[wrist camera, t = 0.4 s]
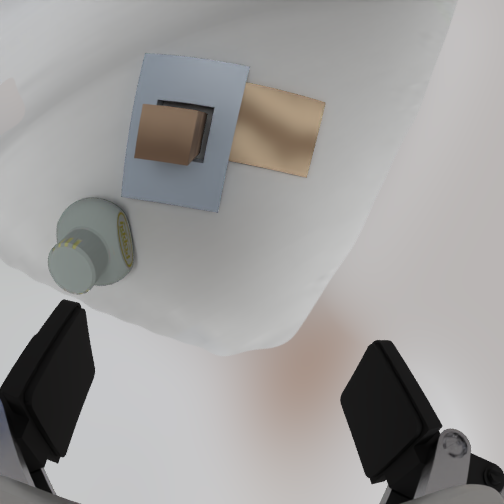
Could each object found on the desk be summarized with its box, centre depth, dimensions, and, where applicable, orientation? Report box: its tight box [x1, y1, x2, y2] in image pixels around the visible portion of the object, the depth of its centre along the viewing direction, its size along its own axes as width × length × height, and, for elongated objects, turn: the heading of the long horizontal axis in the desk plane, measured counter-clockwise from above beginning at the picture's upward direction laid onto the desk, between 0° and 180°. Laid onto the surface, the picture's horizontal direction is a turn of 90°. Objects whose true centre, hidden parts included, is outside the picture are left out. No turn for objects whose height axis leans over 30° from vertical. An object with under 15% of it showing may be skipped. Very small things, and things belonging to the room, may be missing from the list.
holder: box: [121, 53, 250, 213], centre depth 29 cm, size 16×11×2 cm
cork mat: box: [228, 82, 325, 178], centre depth 31 cm, size 9×9×1 cm
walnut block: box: [134, 104, 208, 166], centre depth 26 cm, size 4×4×10 cm
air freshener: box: [48, 198, 133, 294], centre depth 30 cm, size 11×8×10 cm
